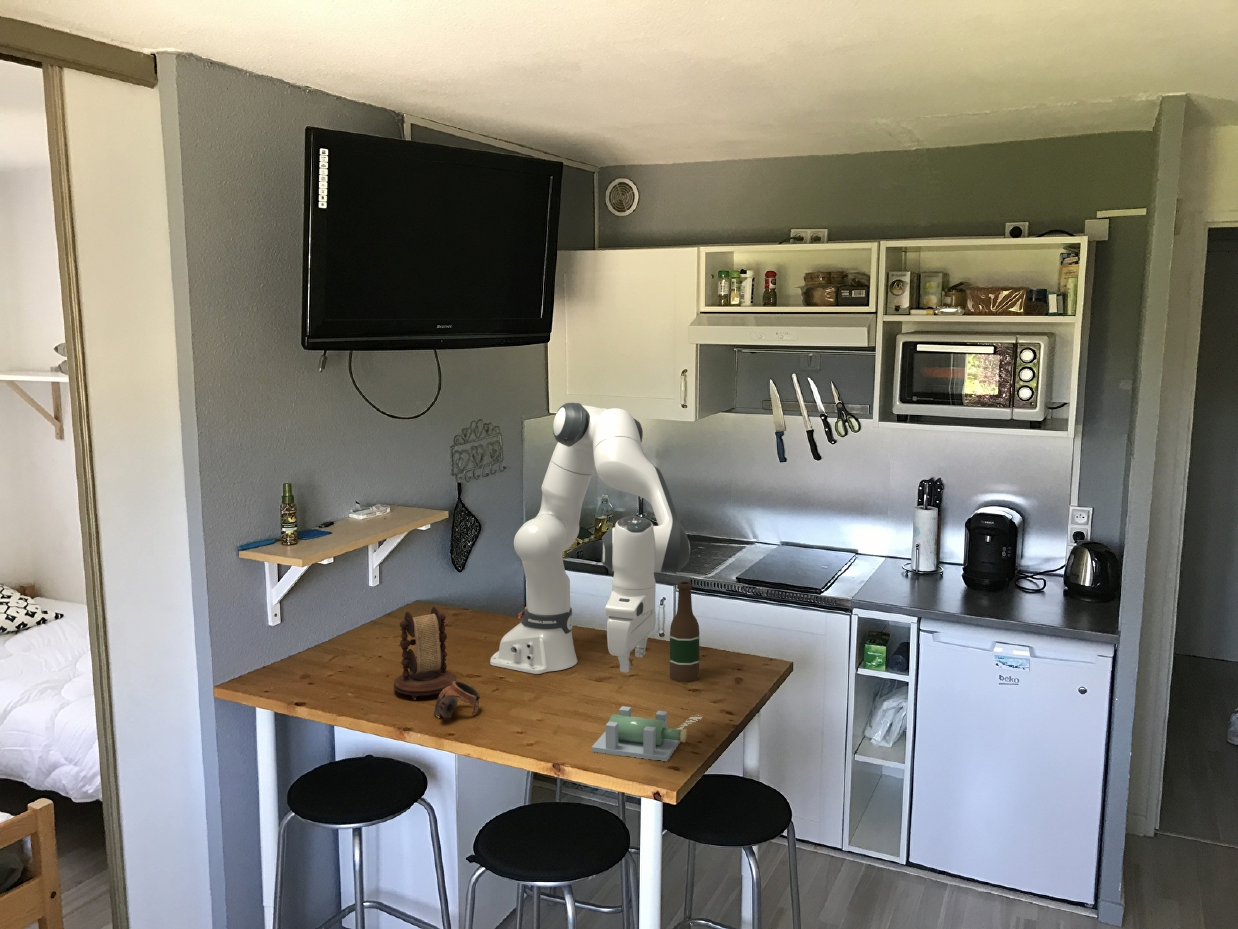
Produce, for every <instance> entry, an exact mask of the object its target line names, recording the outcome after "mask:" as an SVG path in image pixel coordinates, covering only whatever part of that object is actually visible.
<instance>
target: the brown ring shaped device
mask: <svg viewBox="0 0 1238 929" xmlns="http://www.w3.org/2000/svg"><path fill="white" fill-rule="evenodd" d="M458 699H459V700H458ZM480 699H481V694H480V693H479V692H478V691H477V690H476V689H474V688H473V687H472V686H470V685H469V684H466V683H464V682H461V681H458V680H456V681H453V682H452V684H451V686H448V687H446V688H445V689H443V690H442V691H441V693H438V696H437V700H436V703H435V707H434V710H433V714H435V715H437V716H439V717H441V718H442V717H443V718H444V719H451V718H452V715H453V712H454V711H455V709H456V707H457V705H458V701H463V702H464V703H466V704H467V703H468V704H470V705H471V706H472V705H473V711H472V714H471V715H472V716H473V715H475V714H476V715H477V713H478V710H480V703H479V700H480ZM435 715H434V716H435ZM476 715H475V716H476Z"/></svg>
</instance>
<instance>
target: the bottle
mask: <svg viewBox="0 0 1238 929" xmlns="http://www.w3.org/2000/svg"><path fill="white" fill-rule="evenodd" d="M608 722H617V723H618V740H622V741H630V742H638V743H643V730H644V728H645V727H646V726H649V727H656V745H661V746H662V745H663V743H664V740H665V739H669V740H677V741H680V743H686V742H687V737H688V730H687V729H686V728H684V729H681V730H679V729H677V728H669V727H667V728H666V723H665V721H664V720H656V718H647V717H646V718H645V717H638V716H632V715H631V716H623V715H619V714H615V713H613V714H611V715H610V718H609V721H608Z"/></svg>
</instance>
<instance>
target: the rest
mask: <svg viewBox="0 0 1238 929" xmlns="http://www.w3.org/2000/svg"><path fill="white" fill-rule="evenodd" d="M618 715H623V716H631V717H632V707H631V706H624V705H622V706H621V707H620V708H619V709H618ZM655 719H656V720H664V721H665V723H666V728H668V711H664V710H657V712H656V713H655ZM680 743H681V742H680V741H677V740H669V739H665V740H664V743H663V745H662V746H661V745H656V727H649V726H646V727H645V728H644V730H643V743H638V742H630V741H622V740H618V723H617V722H609V721H608V722H607V723H606V724H605V731H604V732H603V733H602V735H601V736H600V737H599V738H598V739H596V741H595V742H594V744H593V745H592V746H591V753H597V752H598V754H605V753H606V754H605V755H614V756H620V755H621V757H626V756H631V757H630V758H634V757H636V758H635V759H641V758H644V760H648V759H652V760H651V761H655V760H662V761H661V762H663V760H664V761H667V760H668V759H669V760H670V759H671V757H670V756H672V755H673V754H674V752H675V751H676V749H677V748H676V746H677V747H678V746H679V745H678V744H680ZM674 750H675V751H674ZM673 751H674V752H673ZM672 753H673V754H672ZM671 754H672V755H671ZM669 760H668V761H669ZM668 761H667V762H668Z"/></svg>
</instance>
